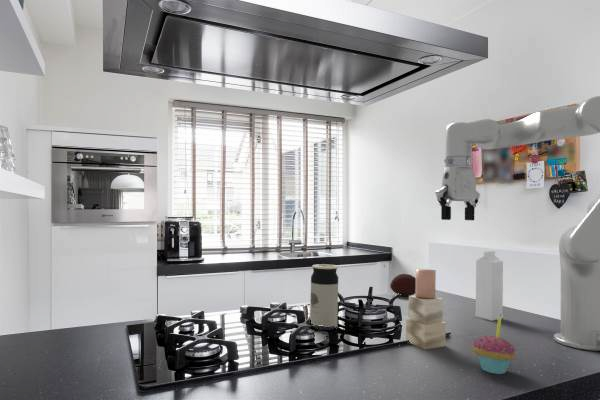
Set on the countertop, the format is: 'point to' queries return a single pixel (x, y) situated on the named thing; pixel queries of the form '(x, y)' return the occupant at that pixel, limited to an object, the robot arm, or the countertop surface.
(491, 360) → the cupcake
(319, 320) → the travel mug
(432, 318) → the tower top
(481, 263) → the milk
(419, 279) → the terracotta cylinder
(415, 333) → the tower base
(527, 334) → the countertop surface
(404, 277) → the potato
